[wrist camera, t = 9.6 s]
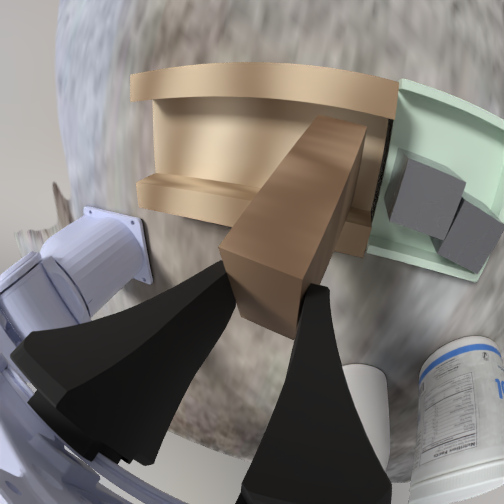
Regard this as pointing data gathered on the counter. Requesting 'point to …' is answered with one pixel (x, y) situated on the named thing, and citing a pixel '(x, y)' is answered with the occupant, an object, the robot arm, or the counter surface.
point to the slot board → (253, 134)
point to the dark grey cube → (470, 234)
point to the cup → (371, 405)
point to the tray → (446, 153)
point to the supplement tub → (459, 423)
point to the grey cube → (423, 194)
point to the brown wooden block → (294, 225)
